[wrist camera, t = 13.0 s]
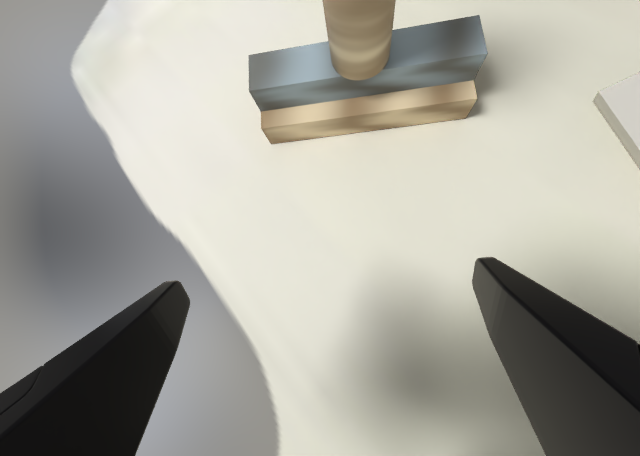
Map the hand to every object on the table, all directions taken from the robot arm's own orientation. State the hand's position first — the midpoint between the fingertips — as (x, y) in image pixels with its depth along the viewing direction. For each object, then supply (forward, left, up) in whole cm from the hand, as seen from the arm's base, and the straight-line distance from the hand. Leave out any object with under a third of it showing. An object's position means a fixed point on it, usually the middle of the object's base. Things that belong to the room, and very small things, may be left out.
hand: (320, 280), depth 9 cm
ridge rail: (+16, +1, -14) cm, 21 cm away
